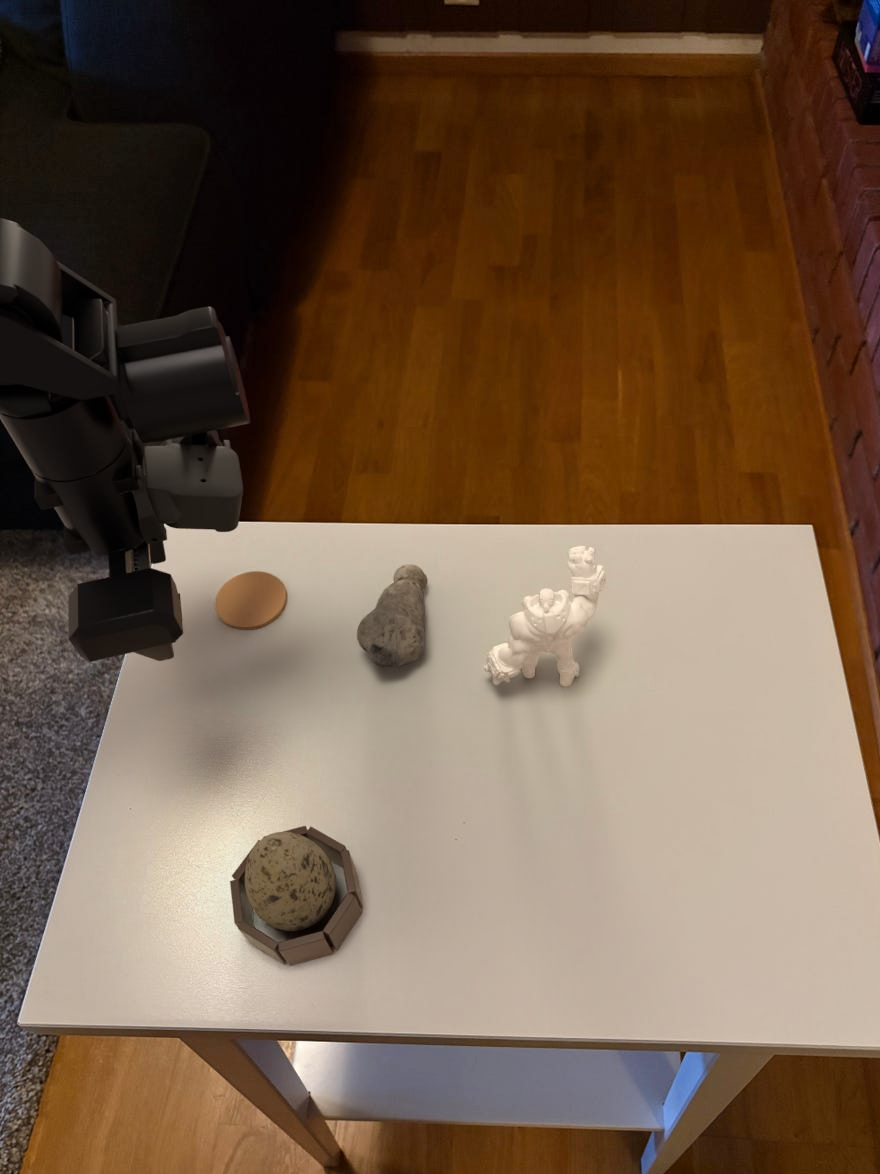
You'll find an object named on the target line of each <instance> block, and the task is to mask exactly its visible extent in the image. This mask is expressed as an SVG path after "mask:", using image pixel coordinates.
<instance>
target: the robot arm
mask: <svg viewBox="0 0 880 1174" xmlns="http://www.w3.org/2000/svg"><path fill="white" fill-rule="evenodd" d="M63 316H65V317H69V318H72V348H71V347H69V346H67V345H65V343H63V322H64V321H63V319H64V318H63ZM221 323H222V322H219V319H218V315H217V313H216V310H215V308H213V307H212V306H204V307H199V308H194V309H189V310H187V311H184V312H182V313H180V314H176V315H173V316H168V317H163V318H158V319H153V320H147V321H141V322H135V323H131V324H126V325H121V323H120V320H119V315H118V302H117V300H116V299H115V298H114V297H112V296H111V295H110V294H108V293H106V292H105V291H104V290H102V289H101V288H99V287H97V286H96V285H94V284H93V283H92V282H90V281H88V280H87V279H85V278H84V277H82V276H81V275H79V274H77V272H74V271H73V270H71V269H70V268H68V267H67V266H65V265H64V264H62V262H60V261H58V260H57V259H56V258H55V256H54V253H52V252H51V250H49V249H48V247H47V246H46V245H45V243H43V242H42V240H40V239H39V238H37V237H36V236H34V235H33V234H31V233H30V232H28V231H27V230H25V229H24V228H22V226H21V225H20V224H19V223H18V222H15V221H12V220H9V219H6V218H2V217H0V421H1V422H2V424H3V426H4V427H5V429H6V430H7V432H8V435H9V436H10V438H11V439H12V440H13V442H14V444H15V446H16V448H17V449H18V451H19V452H20V454H21V455H22V457H23V459H24V460H25V462H26V464H27V465H28V467H29V469H30V470H31V472H32V473H33V476H34V489H33V492H34V493H33V499H34V500H35V502H36V503H37V505H38V506H39V508H40V510H41V511H43V510H49V509H54V510H55V512H56V513H57V515H58V517H59V519H60V520H61V522H62V523H63V544H62V545H63V547H64V548H65V549H66V552H67V553H68V555H69V556H74V555H79V554H84V553H89V552H92V554H93V555H94V556H95V555H96V556H108V576H107V577H103V578H99V579H93V580H89V581H86V582H85V581H84V582H81V583H77V584H76V586H74V588H73V589H72V591H71V592H70V594H69V595H68V641H69V642H70V644H71V646H73V649H74V650H75V651H76V652H77V654H78V655H79V656H80V657H81V658H82V659H84V660H86V661H87V662H89V663H93V662H97V661H100V660H105V659H106V660H107V659H110V658H115V657H118V656H123V655H128V654H133V653H135V654H138V655H139V656H142V657H145V658H149V659H152V660H154V661H157V662H164V661H168V660H172V659H174V657H175V651H174V647H173V644H175V643H176V642H177V641H178V640H179V639H180V638H181V637H182V636H183V635H184V624H183V620H184V619H183V612H182V599H181V593H179V591H178V587H177V584H176V582H175V580H174V578H173V576H172V574H171V573H168V572H166V571H162V570H160V569H159V570H158V569H156V568H152V565H156V564H157V565H158V564H161V563H165V562H166V560H167V555H166V550H165V543H164V542H165V541H168V531H167V528H166V526H168V527H169V528H172V529H179V530H212V531H213V530H214V531H216V532H218V533H228V532H232V531H235V530H236V529H237V528H238V527H239V522H240V514H241V508H242V502H243V495H244V483H243V478H242V471H241V465H240V464H241V463H240V459H239V455H238V453H236V451H234V449H232V447H231V446H232V445H231V441H230V440H229V439H223V442H222V441H221V440H220V437H219V433H218V430H219V431H220V430H223V429H228V428H234V427H238V426H243V425H248V424H251V415H250V409H249V405H248V400H247V395H246V390H245V387H244V383H243V378H242V376H241V371H240V368H239V363H238V359H237V356H236V352H235V349H234V346H233V343H232V340H231V336H227V335H226V333H225V330H224V327H223V325H222V324H221ZM110 396H113V398H114V401H115V403H116V406H117V409H118V411H119V414H120V416H121V419H122V420H120V418H119V415H118V413H117V411H116V409H115V406H114V405H113V403H112V400H111V398H110ZM165 525H166V526H165Z"/></svg>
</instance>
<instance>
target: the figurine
mask: <svg viewBox="0 0 880 1174" xmlns="http://www.w3.org/2000/svg"><path fill="white" fill-rule="evenodd" d="M596 552H597V550H596V548H594V547H592V546H590V547H589V548H588V549H587V548H586V546H585V545H577V546H574V547H570V549H569V550H568V552H567V558H568V561H567V562H566V568H567V569H568V570H569V572H570V573H571V574H572V575H571V577H570V578H571V580H570V581H571V582H570V583H571V585H570V586H571V589H572V595H573V599H572V601H571V600H569V599H570V593H569V592H568V591H567V590H565V589H560V590H558V591H553V589H551V588H549V587H545V588H542V589H541V590H540V591H539V593H537V594H535V595H533V596H532V595H526V596H525V597H524V598H523V599H522V601H521V604H522V606H523V611H519V612H516V613H514V614H512V615H511V616H510V618H509V620H508V626H509V629H510V632H509V634H508V637H507V642H502V643H501V644H500V643H499V644H498V645H495V646H493V647H492V648H491V650H489V651H488V652H487V653H486V658H485V661H486V662H485V663H486V664H485V665H484V666H483V671H485V672H487V673H489V675H490V676H491V677H492V684H493V685H495V686H499V685H500V683H501V682H505V683H507V684H508V683H510V682H511V680H510V679H511V678H513V677H517V675H518V674H519V673H520V671H521V672H522V675H523V677H524V678H526V679H533V678H534V677H535V675H536V667H537V665H538V664H539V663H538V662H539V656H540V654H541V653H542V652H544V653H547V654H548V653H552V654H554V655H555V658H556V664H557V672H558V673H559V674H560V675H559V684H560V685H561V687H565V688H566V687H569V686H571V685H572V683H573V681H574V679H575V677H576V678H578V677H579V675H580V665H579V663H577V661H576V662H575V661H574V653H573V650H572V644H571V642H570V639H572V638H573V637H576V636H577V635H580V634H581V633H583V632H584V631H585V630H586V626H587V623H588V622H589V621H591V620H592V619H593V618H594V617H595V614H596V611H597V606H598V601H599V597H600V592H601V591H602V590H603V588H604V586H605V584H606V580H607V573H606V570H605V569H604V565H602V564H597V563H598V562H597V560H596V556H595V554H596Z"/></svg>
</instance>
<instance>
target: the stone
mask: <svg viewBox="0 0 880 1174" xmlns="http://www.w3.org/2000/svg"><path fill="white" fill-rule="evenodd" d="M392 577H393V582H392V583H390V584H388V586H387V587H385V588H384V589H383V591H382V593H381V594H380V595H379V598H378V600H377V603H376V605H375V607H374V609H373V610H370V612H369V613H367V614H366V615H365V616H364V617H363V618H361V620H360V622H359V624H358V627H357V631H356V638H357V639H356V640H357V642H358V644H359V646H360V648H361V649H362V650H363V651H364V652H365V653H366V654H367V655H368V657H369V658H370V659H371V662H372V663H373V664H374V665H375V666H376V667H379V668H381V669H382V668H383V669H392V668H397V667H399V666H401V665H406V664H409V663H413V662H414V661H415V660H417V659H418V658H419V657H420V655H421V654H422V653H423V650H424V646H425V635H426V634H425V629H424V619H425V601H424V595H423V591H424V590H425V589H426V588H427V585H428V577H427V575H426V573H425V572H424V570H423V569H422V568H421V567H420V566H418V565H416V564H402V565H400V566H399V567H398V568H396V570H395V572H394V574H393V576H392Z"/></svg>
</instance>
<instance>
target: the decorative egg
mask: <svg viewBox="0 0 880 1174" xmlns="http://www.w3.org/2000/svg"><path fill="white" fill-rule="evenodd" d="M264 836H265V837H264ZM264 836H263V837H264V838H263V837H262V838H261V839H259V840H260V841H259V842H258V843H257V842H256V843H257V844H256V843H255V844H256V845H255V844H254V845H255V846H254V845H253V847H254V848H253V847H252V848H253V849H252V848H251V849H252V851H251V850H250V851H251V853H250V855H249V857H248V861H247V864H246V869H245V888H246V893H247V897H248V900H249V902H250V904H251V906H252V911H253V912H254V913H255V914H256V915H257V916H258V918H259V919H260V920H261V921H263V923H265V924H267V925H268V926H269V927H272V928H274V929H276V930H279V931H284V932H297V931H302V930H305V929H308V928H311V927H312V926H314V925H316V924H317V923H319V922H320V921H321V920H322V919H323V918H324V917H325V916H326V915H327V913H328V912H329V910H330V909H331V907H332V905H333V903H334V900H335V895H336V890H337V879H336V873H335V868H334V866H333V864H332V861H331V860H329V858H328V857H327V855H326V854H325V853H324V851H323V850H322V849H321V848H320V847H319V846H318V845H317V844H315V843H314V842H312V841H311V840H309V839H308V838H306V837H304V836H301V835H299V834H295V833H292V832H283V831H276V832H273V833H269V834H267V835H264Z"/></svg>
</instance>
